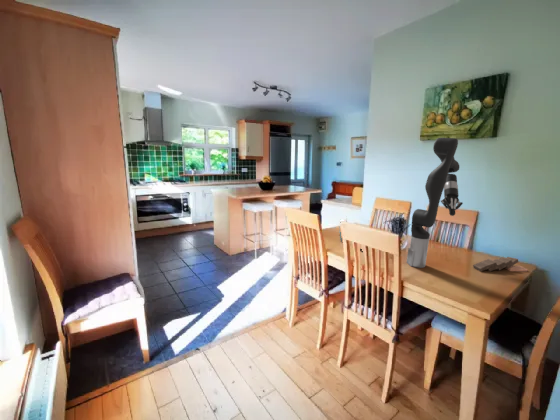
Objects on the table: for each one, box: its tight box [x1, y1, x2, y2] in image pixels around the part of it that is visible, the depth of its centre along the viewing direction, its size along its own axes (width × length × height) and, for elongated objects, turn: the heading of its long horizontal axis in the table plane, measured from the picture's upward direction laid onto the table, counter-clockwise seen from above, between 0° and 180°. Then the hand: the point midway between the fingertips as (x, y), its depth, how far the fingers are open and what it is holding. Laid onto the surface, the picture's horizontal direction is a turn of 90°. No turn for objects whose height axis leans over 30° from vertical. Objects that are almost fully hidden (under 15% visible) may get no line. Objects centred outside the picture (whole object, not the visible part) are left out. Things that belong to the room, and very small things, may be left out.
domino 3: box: [495, 256, 512, 271], centre depth 155 cm, size 2×5×10 cm
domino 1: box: [472, 258, 497, 273], centre depth 153 cm, size 2×5×10 cm
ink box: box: [339, 215, 348, 233], centre depth 214 cm, size 9×5×15 cm, turn 168°
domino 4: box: [503, 256, 519, 270], centre depth 157 cm, size 2×5×10 cm
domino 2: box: [485, 258, 506, 273], centre depth 153 cm, size 2×5×10 cm
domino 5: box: [504, 265, 529, 272], centre depth 155 cm, size 2×5×10 cm
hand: (452, 215), depth 163 cm, fingers closed
